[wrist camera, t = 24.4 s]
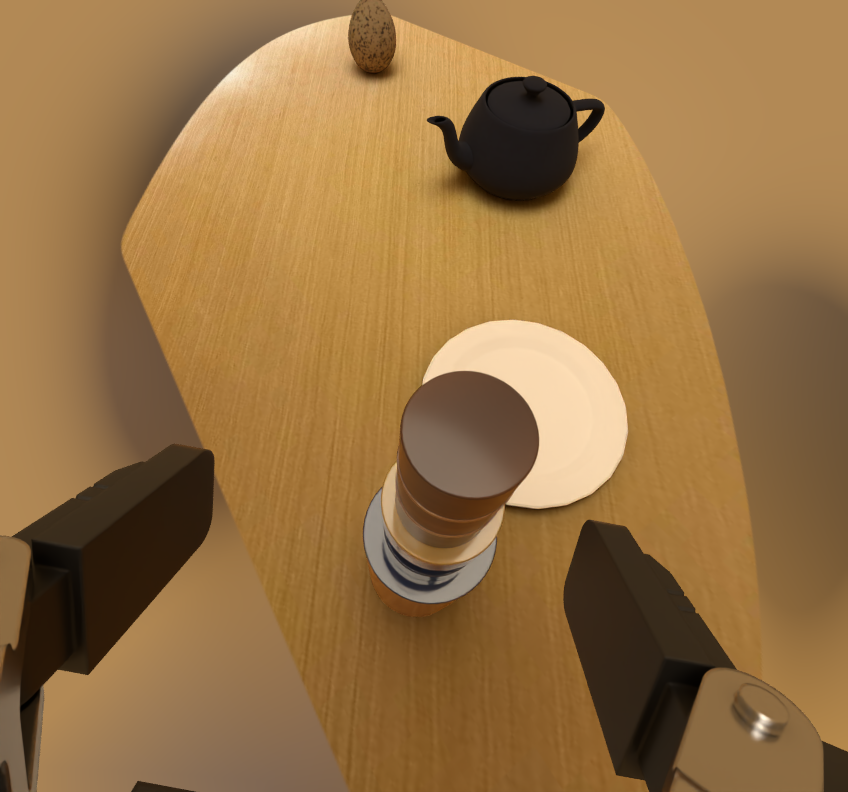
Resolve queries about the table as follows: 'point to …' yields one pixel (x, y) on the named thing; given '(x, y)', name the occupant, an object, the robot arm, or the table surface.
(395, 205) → the table surface
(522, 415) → the brown ridged cylinder
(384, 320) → the table surface
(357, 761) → the table surface
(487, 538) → the bottle
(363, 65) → the decorative egg
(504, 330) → the plate
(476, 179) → the teapot
